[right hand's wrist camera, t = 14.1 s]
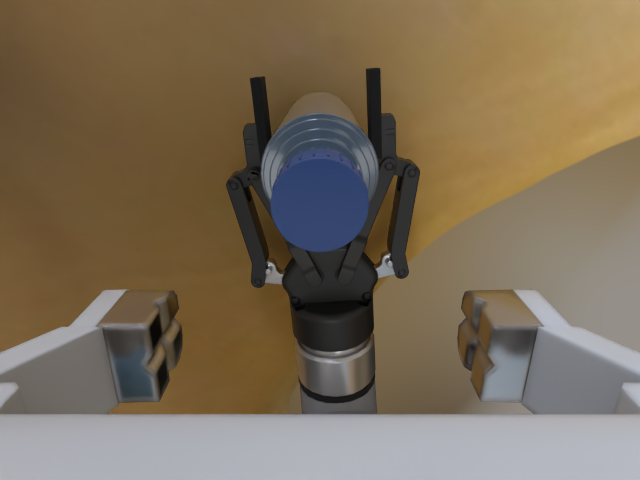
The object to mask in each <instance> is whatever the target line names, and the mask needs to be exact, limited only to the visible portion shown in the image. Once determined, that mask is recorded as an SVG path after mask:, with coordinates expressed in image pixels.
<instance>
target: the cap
mask: <svg viewBox="0 0 640 480" xmlns="http://www.w3.org/2000/svg"><path fill="white" fill-rule="evenodd" d="M363 180H364V179H363V177H362V174H361V171H360V170H358V169H357V167H356V166H355V165H354V164H353V161H352V160H349V159H348V158H347V157H345V156H344V155H342V153H341V152H340V153H338V152H335V151H332V150H329V148H327V149H315V148H313V149H312V150H307V151H304V152H302V151H301V152H300V153H299V154H297V155H296V156H294V157H293V158H292V159H291V158H290V159H289V160H288V162H287V163H286V164H285V165H284V167H283V168H281V169H280V171H279V174H278V176H277V180H275V182H274V185H273V187H272V190H273V192H272V196H271V201H270V204H271V205H270V206H271V214H272V218H273V221H274V224H275V225H276V227H277V229H278V231H279V232H280V233H281V235H282V236H283V237H284V238H285V239H286V240H288V241H289V242H290V243H292V244H293V245H295V246H297V247H299V248H301V249H304V250H307V251H312V252H327V251H332V250H336V249H338V248H341V247H343V246H345V245H346V244H348V243H349V242H351V241H352V240H353V239H354V238H355V237H356V236H357V235H358V234H359V233H360V231H361V230H362V228H363V226H364V224H365V222H366V220H367V216H368V211H369V199H368V194H367V193H368V189H367V187H366V184H365V182H363Z"/></svg>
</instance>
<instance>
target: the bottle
mask: <svg viewBox="0 0 640 480" xmlns="http://www.w3.org/2000/svg"><path fill="white" fill-rule="evenodd" d="M313 148H315V149H327V148H329V150H332V151H335V152H338V153H340V152H341V153H342V155H344V156H345V157H347V158H348V159H349V160H352V161H353V164H354V165H355V166H356V167H357V169H358V170H360V171H361V174H362V177H363V179H364V180H363V182H365V184H366V187H367V189H368V193H367V194H368V199H369V202H370V201H371V199H372V197H373V195H374V193H375V190H376V187H377V183H378V177H379V166H378V159H377V156H376V152H375V150H374V147H373V145H372V143H371V142H370V140H369V138H368V137H367V135H366V134H365V132H364V131H363V129H362V128H361V126H360V125H359V123H358V121H357V120H356V118H355V117H354V115H353V114H352V112H351V111H350V109H349V108H348V106H347V105H346V104H345V103H344V102H343V101H342V100H341V99H340V98H339V97H337V96H335V95H333V94H331V93H327V92H312V93H309V94H306V95H304V96H302V97H301V98H299V99H298V100H297V101H296V102H295V103H294V104H293V105H292V107H291V108H290V110H289V112H288V113H287V115H286V116H285V118H284V119H283V121H282V122H281V124H280V125H279V127H278V128H277V130H276V132H275V133H274V135H273V136H272V138H271V139H270V141H269V142H268V144H267V146H266V148H265V151H264V154H263V157H262V162H261V181H262V185H263V189H264V192H265V194H266V196H267V198H268V200H269V202H270V201H271V196H272V192H273V190H272V187H273V185H274V182H275V180H277V176H278V174H279V171H280V169H281V168H283V167H284V165H285V164H286V163H287V162H288V160H289V159H290V158H291V159H292V158H293V157H294V156H296V155H297V154H299V153H300V152H301V151H302V152H304V151H307V150H312V149H313Z"/></svg>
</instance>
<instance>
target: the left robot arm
mask: <svg viewBox="0 0 640 480" xmlns="http://www.w3.org/2000/svg"><path fill="white" fill-rule="evenodd" d="M250 82H251V90H252V98H253V106H254V114H255V123H249V124H246V125H245V127H244V131H243V137H244V144H245V152H246V159H247V167H246V168H245V169H242V170H240V171H236V172H234V174H233V175H232V176H231V177H230V178H229V180H228V181H227V184H226V186H227V190H228V193H229V196H230V199H231V202H232V205H233V208H234V211H235V214H236V217H237V220H238V223H239V226H240V229H241V232H242V235H243V238H244V241H245V244H246V247H247V250H248V253H249V256H250V259H251V262H252V274H251V283H252V285H253V286H254V287H257V288H261V287H263V286H264V284H265V283H272V284H282V285H283V287H284V289H285V290H286V291H287V293H288V295H289V298H290V307H291V316H292V325H293V333H294V336H295V342H294V344H295V352H296V360H297V368H298V377H299V383H300V392H301V405H302V414H377V407H376V391H375V347H374V334H373V329H374V317H373V289H374V286H375V284H376V283H377V280H378V278H382V277H387V276H391V275H396V277H397V278H400V279H403V278H405V277H407V276H408V274H409V270H408V265H407V260H406V255H405V252H406V246H407V241H408V235H409V230H410V224H411V219H412V213H413V208H414V202H415V197H416V192H417V186H418V181H419V175H420V170H419V168H418V167H417V166H416V165H415V164H414V163H413V162H412V161H411V160H409V159H403V158H400V157H397V155H396V130H395V129H396V122H395V119H394V117H393V115H392V114H391V113H383V114H381V83H380V68H368V69H366V83H367V114H368V138H369V140H370V142H371V143H372V145H373V147H374V150H375V152H376V156H377V159H378V166H379V177H378V183H377V187H376V190H375V193H374V195H373V197H372V199H371V201H370V202H369V211H368V216H367V220H366V222H365V224H364V226H363V228H362V230H361V231H360V233H359V234H358V235H357V236H356V237H355V238H354V239H353V240H352V241H351V242H349V243H348V244H346V245H345V246H343V247H341V248H338V249H336V250H332V251H327V252H312V251H307V250H304V249H301V248H299V247H297V246H295V245H293V244H292V243H290V242H289V241H288V240H286V239H285V238H284V237H283V238H284V239H285V241H286V243H287V246H288V249H289V251H290V253H291V254H292V256H293V257H292V259H291V260H290V262H289V263H288V265H287V267H286V268H285V270H281V269H279V268H278V266H277V262H276V261H275V260H274V259H273V258H269V251H268V246H267V242H266V239H265V236H264V233H263V230H262V226H261V223H260V220H259V217H258V214H257V211H256V207H255V204H254V201H253V198H252V195H251V191H250V188H249V186H250V185H252V186H253V187H254V189H255V191H256V192H257V194H258V196H259V197H260V199H261V201H262V203H263V204H264V206H265V208H266V209H267V211H268V213H269V214H270V216H271V218H272V214H271V206H270V205H271V204H270V202H269V200H268V198H267V196H266V194H265V192H264V189H263V185H262V181H261V162H262V157H263V154H264V151H265V148H266V146H267V144H268V142H269V141H270V139H271V129H270V120H269V111H268V102H267V93H266V84H265V77H254V78H250ZM393 175H398V178H397V184H396V190H395V196H394V202H393V208H392V214H391V220H390V226H389V232H388V240H387V246H388V250H385V251H384V252H383V253H382V254H381V259H380V261H379V262H378V263H377V264H374V263H373V262H372V261H371V260H370V259H369V258H368V256H367V255H366V254H365V253H364V252H363V251H364V248H365V246H366V243H367V238H368V235H369V233H370V230H371V228H372V226H373V223H374V221H375V218H376V216H377V214H378V211H379V209H380V206H381V204H382V202H383V199H384V197H385V194H386V192H387V190H388V187H389V185H390V183H391V180H392V178H393ZM272 219H273V218H272Z"/></svg>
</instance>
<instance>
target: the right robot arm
mask: <svg viewBox="0 0 640 480" xmlns="http://www.w3.org/2000/svg"><path fill="white" fill-rule="evenodd" d="M178 309H179V306H178V300H177V295H176V294H175V292H174V291H167V290H128V289H121V290H104V291H103V292H102V293H101V294H100V295H99V296H98V297H97V298H96V299H95V300H94V301H93V302H92V303H91V304H90V305H89V306H88V307H87V308H86V309H85V310H84V311H83V312H82V313H81V314H80V315H79V316H78V318H77V319H76V320H75V321H74V322H73V323H72V324H71V325H70V326H69V327H59V328H57V329H55V330H52V331H50V332H48V333H45V334H43V335H40V336H38V337H36V338H33V339H31V340H29V341H26V342H24V343H21V344H19V345H17V346H14V347H12V348H10V349H7V350H5V351H2V352H0V480H640V352H637V351H635V350H633V349H630V348H628V347H626V346H623V345H621V344H619V343H616V342H614V341H611V340H609V339H607V338H604V337H602V336H600V335H597V334H595V333H592V332H590V331H588V330H585V329H583V328H581V327H571V326H570V325H569V324H568V323H567V322H566V321H565V320H564V319H563V317H562V316H561V315H560V314H559V313H558V312H557V311H556V310H555V309H554V308H553V307H552V306H551V305H550V304H549V303H548V302H547V301H546V300H545V299H544V298H543V297H542V296H541V295H540V294H539V293H538V292H537V291H536V290H532V289H526V290H477V291H466V292H465V293H464V296H463V299H462V306H461V309H462V311H463V313H464V315H465V316H466V318H465V319H464V320H463V322H462V323H461V324H460V325H459V328H458V338H457V339H458V351H459V355H460V359H461V361H462V363H463V366H464V367H465V368H467V369H469V370H470V371H472V372H471V379H470V380H471V382H472V385H473V387H474V389H475V391H476V393H477V395H478V397H479V399H480V401H481V402H517V403H522V405H523V406H524V407H526V408H527V409H528V410H530V411H531V412H532V413H533V414H107V413H108V412H109V411H111V410H112V409H113V408H115V407H116V406H117V405H118V403H124V402H159V401H160V399H161V397H162V395H163V393H164V391H165V389H166V387H167V385H168V383H169V380H170V379H169V372H168V371H170V370H171V369H173V368H175V367H176V366H177V363H178V361H179V359H180V355H181V350H182V328H181V325H180V324H179V323H178V322H177V320H176V319H175V318H174V316H175V315H176V313H177V311H178Z"/></svg>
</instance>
